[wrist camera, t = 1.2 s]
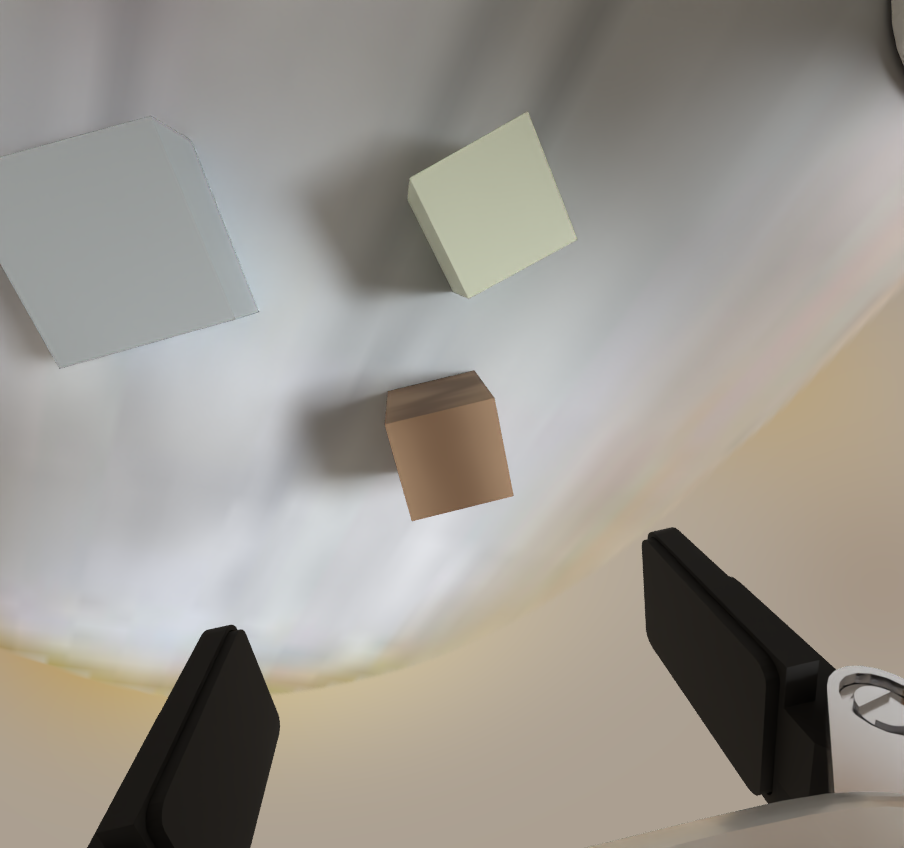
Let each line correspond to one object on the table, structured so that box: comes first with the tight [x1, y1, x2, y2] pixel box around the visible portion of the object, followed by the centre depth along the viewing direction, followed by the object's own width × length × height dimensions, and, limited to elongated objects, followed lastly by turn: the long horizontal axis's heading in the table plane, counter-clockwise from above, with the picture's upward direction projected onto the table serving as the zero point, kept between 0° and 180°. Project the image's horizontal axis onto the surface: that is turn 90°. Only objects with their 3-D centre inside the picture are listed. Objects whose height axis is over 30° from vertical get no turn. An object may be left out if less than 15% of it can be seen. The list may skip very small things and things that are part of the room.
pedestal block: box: [0, 116, 259, 369], centre depth 21 cm, size 8×8×4 cm
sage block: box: [407, 111, 577, 299], centre depth 21 cm, size 5×5×6 cm
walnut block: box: [385, 371, 513, 521], centre depth 24 cm, size 5×5×6 cm
